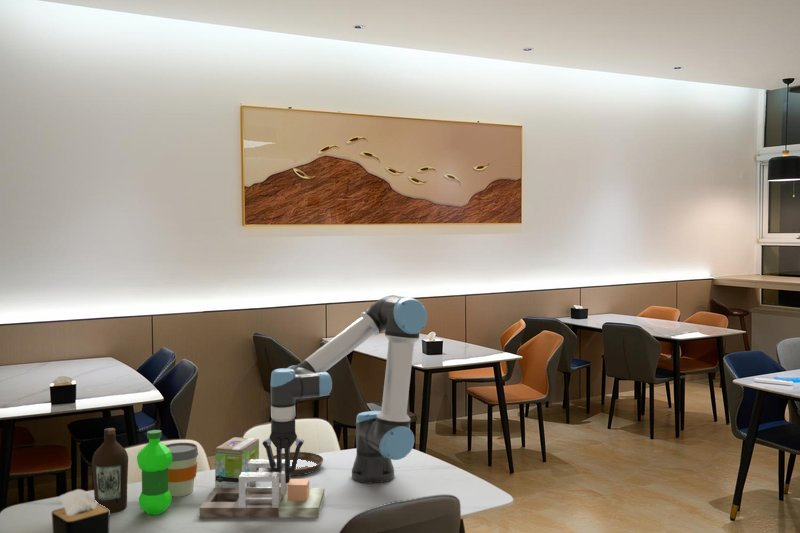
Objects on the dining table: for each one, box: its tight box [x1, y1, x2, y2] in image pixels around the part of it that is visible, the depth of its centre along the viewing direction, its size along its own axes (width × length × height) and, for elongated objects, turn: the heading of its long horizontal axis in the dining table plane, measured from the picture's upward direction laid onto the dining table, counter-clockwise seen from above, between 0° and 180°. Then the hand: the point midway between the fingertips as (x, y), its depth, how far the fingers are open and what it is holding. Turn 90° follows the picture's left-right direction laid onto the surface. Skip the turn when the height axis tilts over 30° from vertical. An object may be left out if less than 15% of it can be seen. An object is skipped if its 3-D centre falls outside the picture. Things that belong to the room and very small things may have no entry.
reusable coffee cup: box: [164, 442, 199, 497], centre depth 252 cm, size 13×12×15 cm
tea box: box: [214, 436, 260, 488], centre depth 259 cm, size 15×10×15 cm, turn 168°
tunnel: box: [239, 458, 288, 508], centre depth 238 cm, size 12×18×10 cm, turn 0°
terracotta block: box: [287, 478, 310, 501], centre depth 238 cm, size 6×6×5 cm
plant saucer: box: [269, 451, 324, 476], centre depth 278 cm, size 21×21×3 cm
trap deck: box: [199, 487, 325, 519], centre depth 238 cm, size 36×18×3 cm, turn 90°
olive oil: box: [91, 427, 129, 514], centre depth 237 cm, size 11×11×25 cm
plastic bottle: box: [136, 429, 173, 516], centre depth 234 cm, size 10×10×25 cm
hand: (283, 492), depth 238 cm, fingers closed
